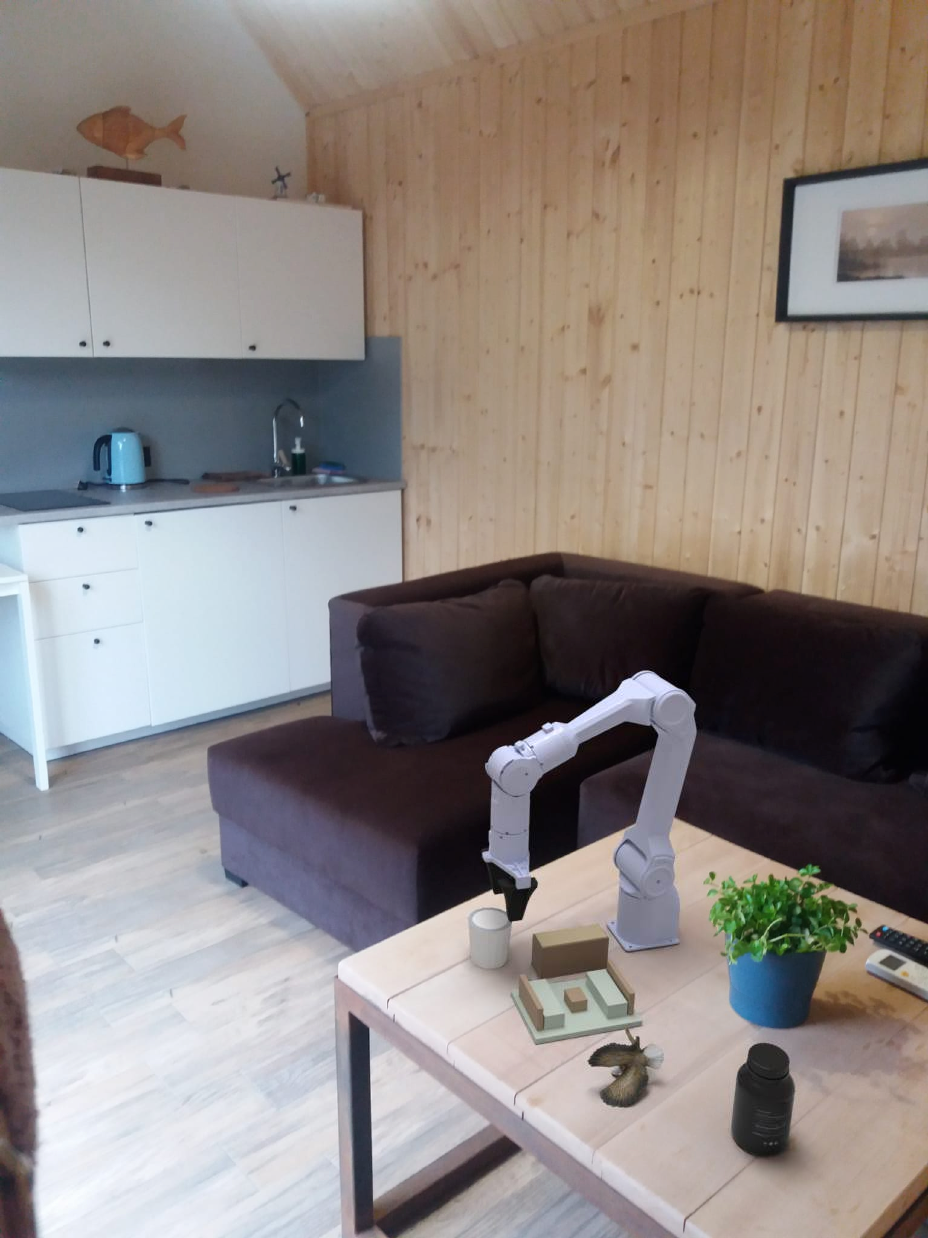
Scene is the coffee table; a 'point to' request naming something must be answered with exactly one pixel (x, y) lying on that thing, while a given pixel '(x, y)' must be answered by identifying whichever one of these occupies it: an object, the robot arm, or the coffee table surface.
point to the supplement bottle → (763, 1101)
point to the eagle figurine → (626, 1068)
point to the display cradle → (576, 1005)
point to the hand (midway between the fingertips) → (507, 906)
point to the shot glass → (489, 937)
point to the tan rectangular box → (569, 951)
